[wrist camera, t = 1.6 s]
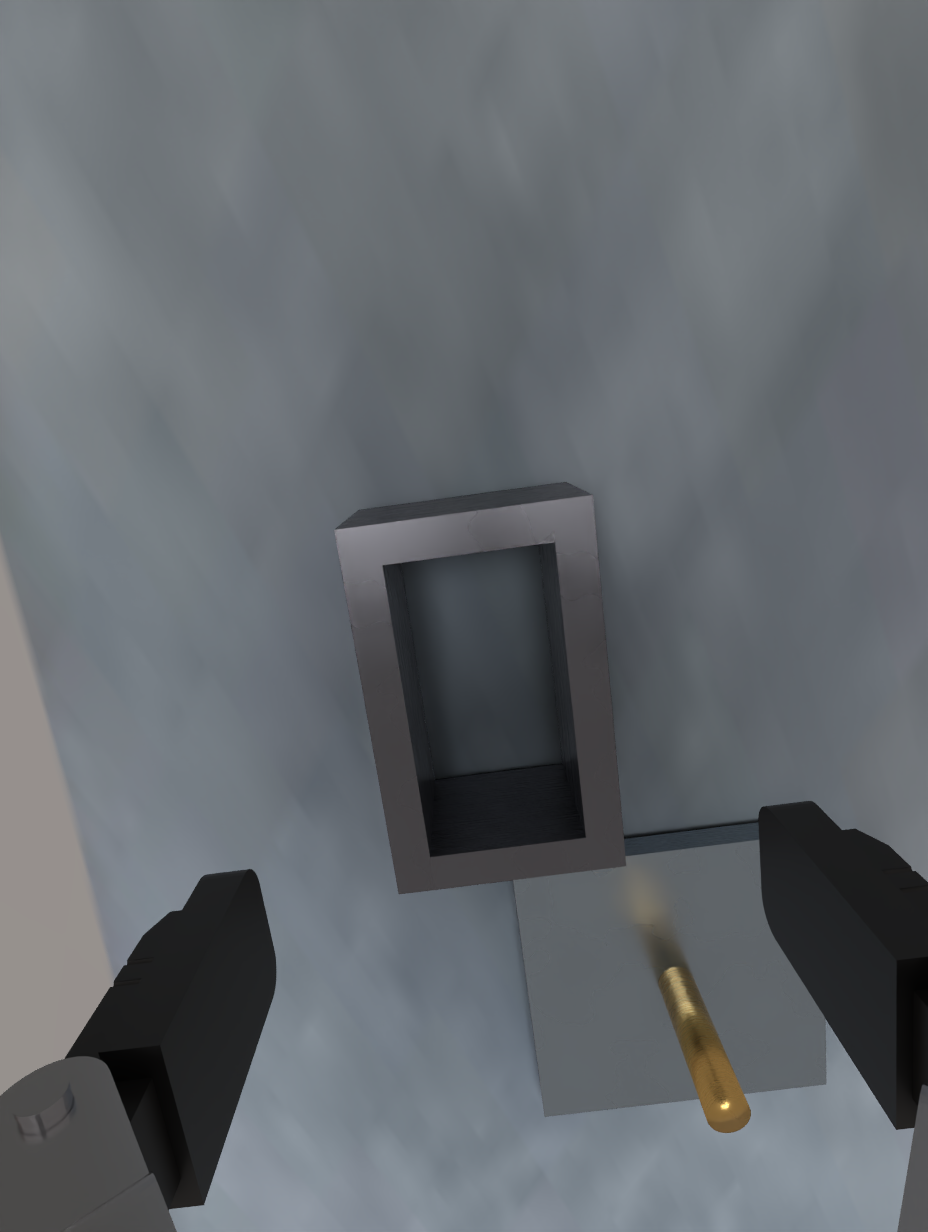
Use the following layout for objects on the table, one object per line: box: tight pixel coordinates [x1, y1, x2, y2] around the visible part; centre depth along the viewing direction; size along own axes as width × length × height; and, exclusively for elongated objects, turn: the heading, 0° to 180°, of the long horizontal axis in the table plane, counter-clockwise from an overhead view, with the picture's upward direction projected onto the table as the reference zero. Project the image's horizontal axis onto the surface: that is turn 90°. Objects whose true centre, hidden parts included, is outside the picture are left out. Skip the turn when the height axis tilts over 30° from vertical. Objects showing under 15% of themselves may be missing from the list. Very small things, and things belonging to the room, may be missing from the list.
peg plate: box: [513, 822, 826, 1133], centre depth 23 cm, size 10×10×6 cm
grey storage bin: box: [334, 482, 626, 894], centre depth 21 cm, size 10×6×4 cm, turn 8°
